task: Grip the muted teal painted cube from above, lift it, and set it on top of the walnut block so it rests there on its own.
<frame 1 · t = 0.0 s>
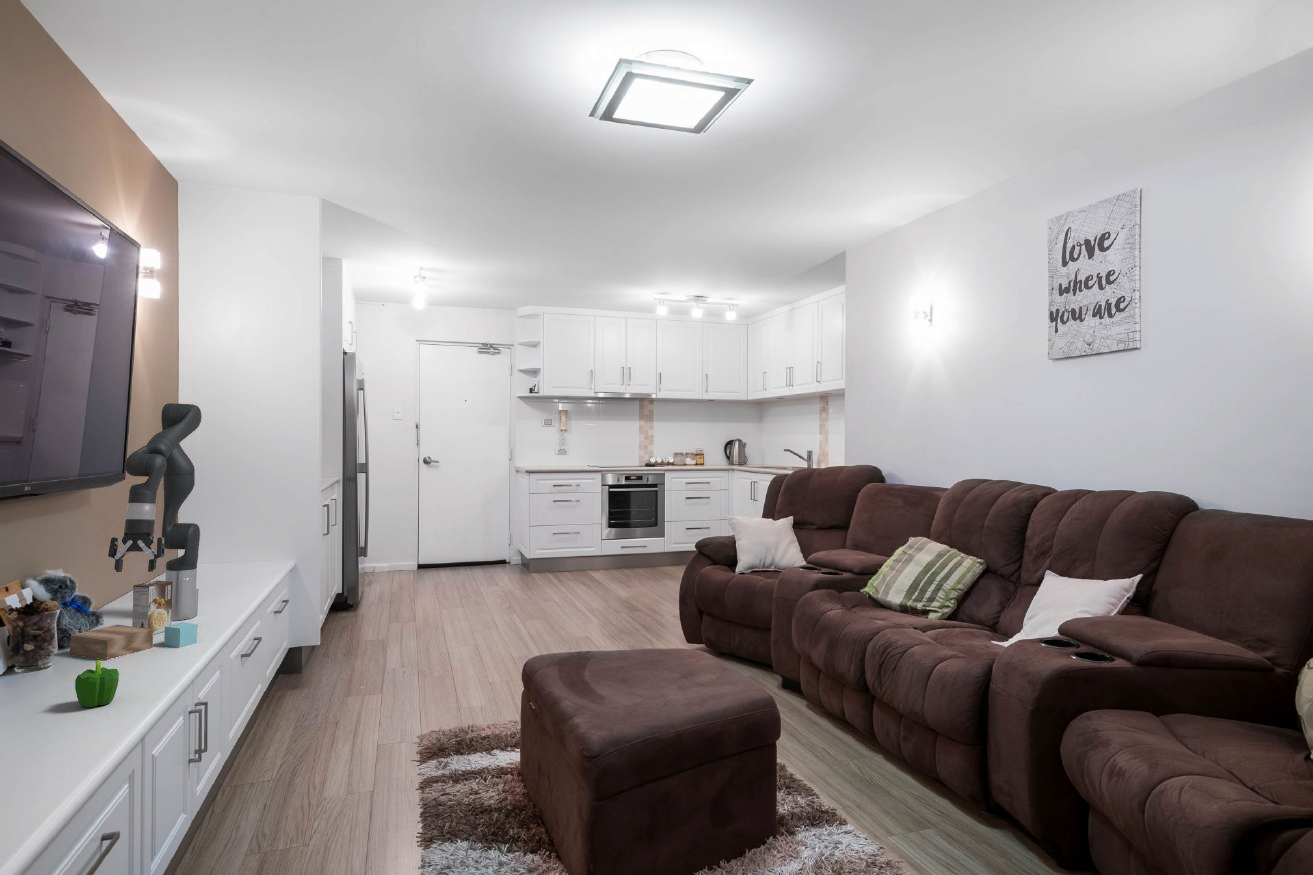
hand: (134, 571, 226), 22 cm above the tv stand, tool pointing down, fingers open, 8 cm apart
bell pepper: (96, 705, 177), on the tv stand
teal cube: (180, 644, 228), on the tv stand
coffee box: (151, 633, 241), on the tv stand
walnut block: (112, 652, 219), on the tv stand
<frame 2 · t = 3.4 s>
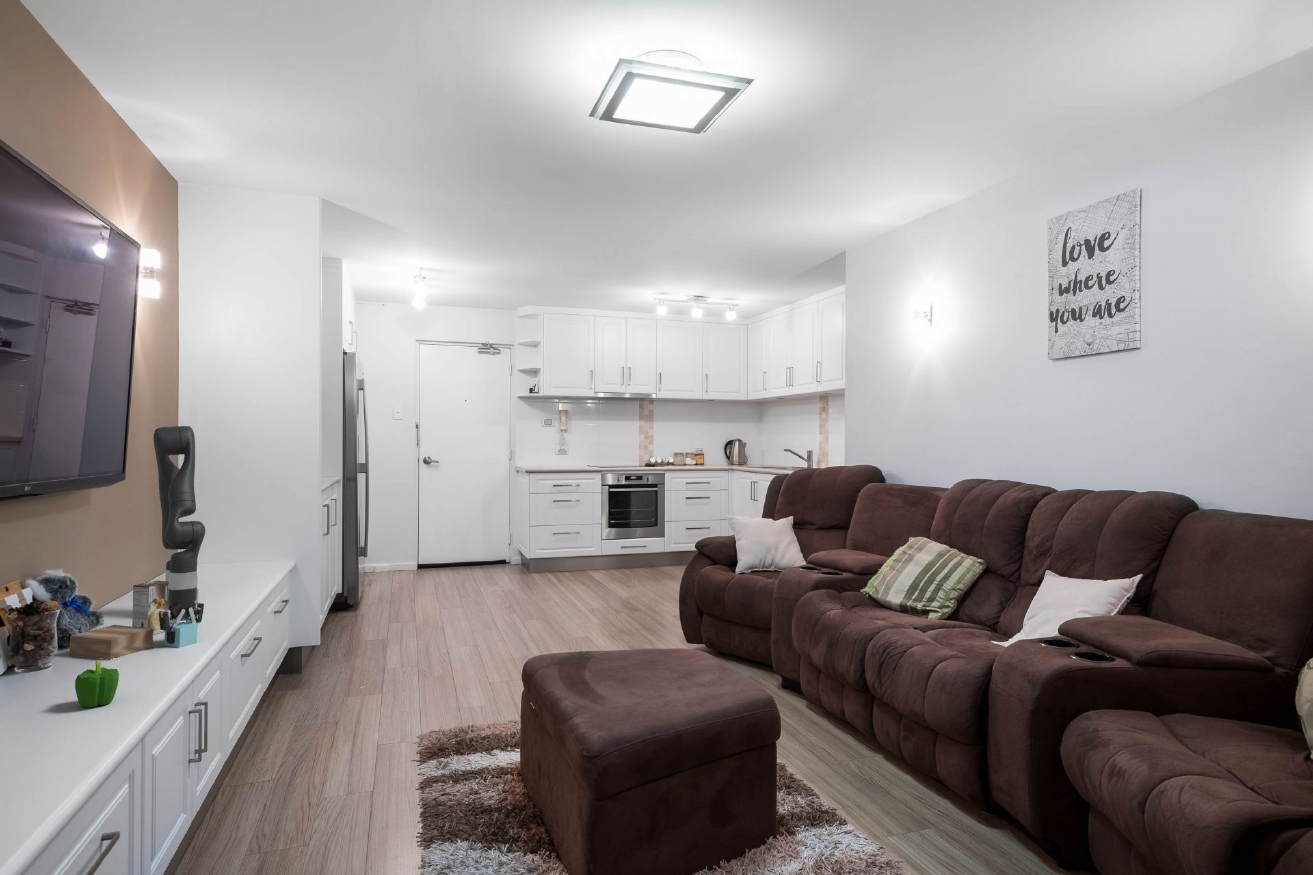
hand: (180, 640, 229), 1 cm above the tv stand, tool pointing down, fingers closed on teal cube, 6 cm apart
teal cube: (180, 644, 229), on the tv stand, touching gripper
everything else where it was.
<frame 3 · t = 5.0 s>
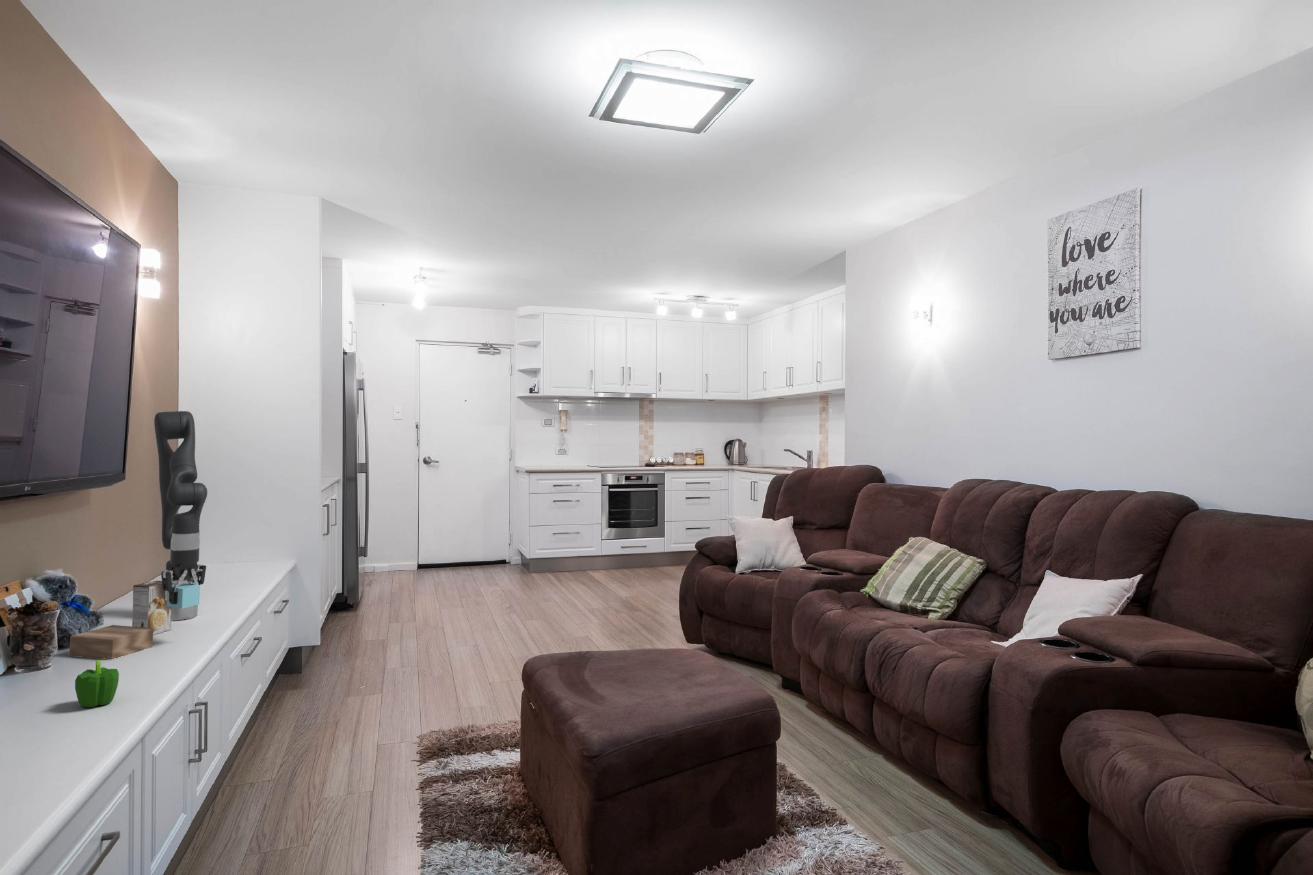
hand: (183, 601, 229), 13 cm above the tv stand, tool pointing down, fingers closed on teal cube, 6 cm apart
teal cube: (183, 605, 229), point 12 cm above the tv stand, touching gripper
everything else where it was.
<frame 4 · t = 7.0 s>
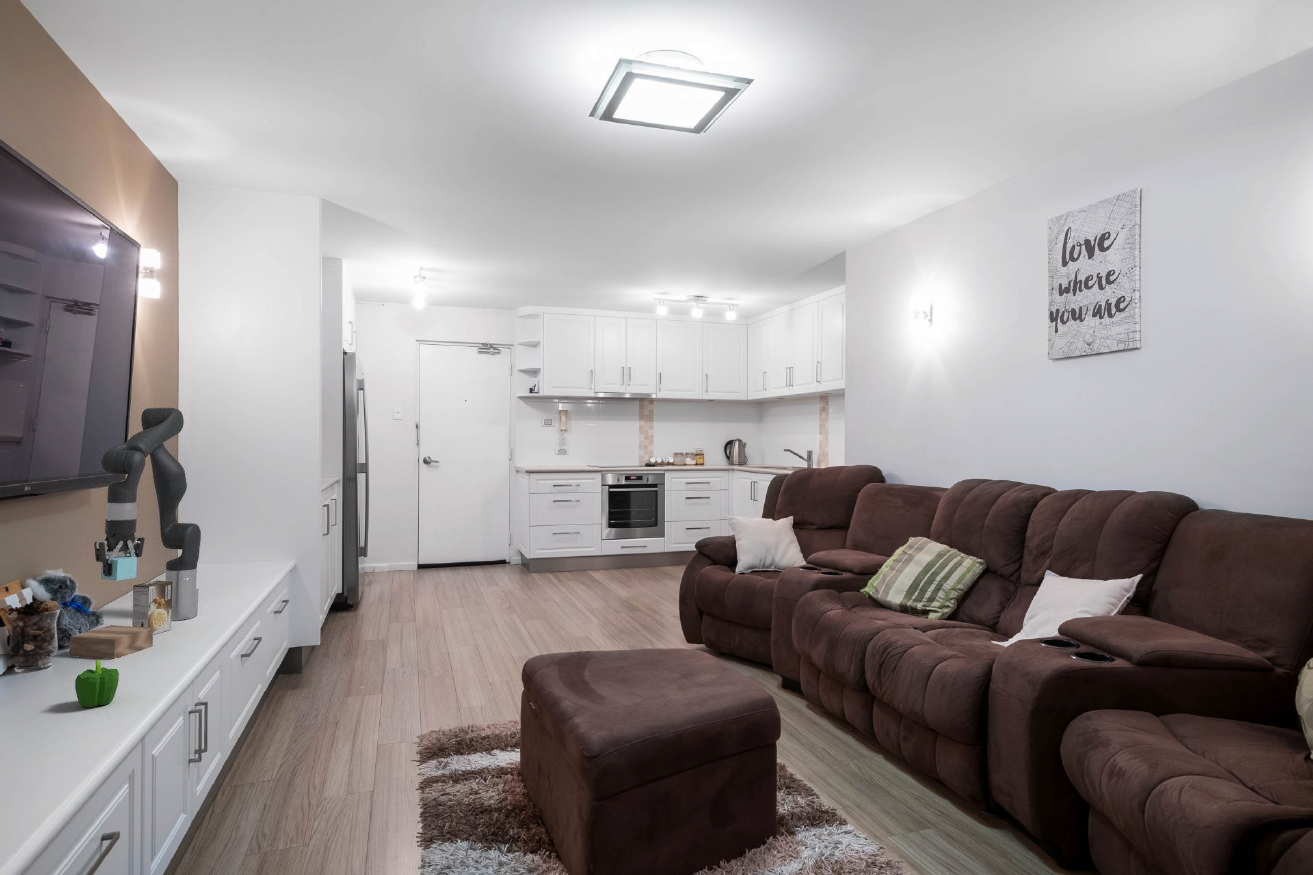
hand: (118, 574, 220), 23 cm above the tv stand, tool pointing down, fingers closed on teal cube, 6 cm apart
teal cube: (118, 578, 220), point 22 cm above the tv stand, touching gripper
everything else where it was.
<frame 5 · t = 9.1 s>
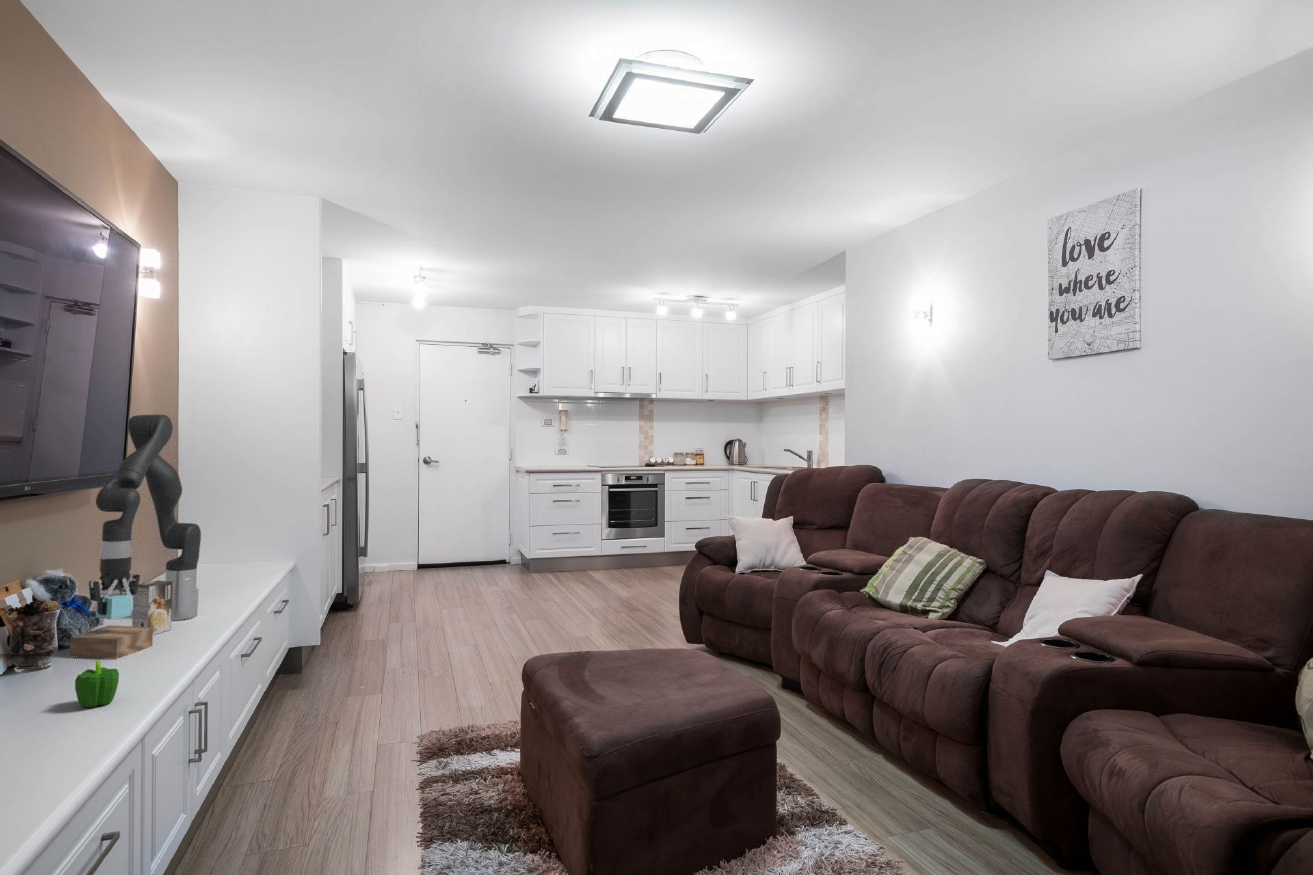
hand: (113, 612, 219), 11 cm above the tv stand, tool pointing down, fingers closed on teal cube, 6 cm apart
teal cube: (113, 616, 219), point 10 cm above the tv stand, touching gripper
when the fingers open (9 cm above the tv stand, at t = 10.7 s): teal cube drops 2 cm, point 6 cm above the tv stand.
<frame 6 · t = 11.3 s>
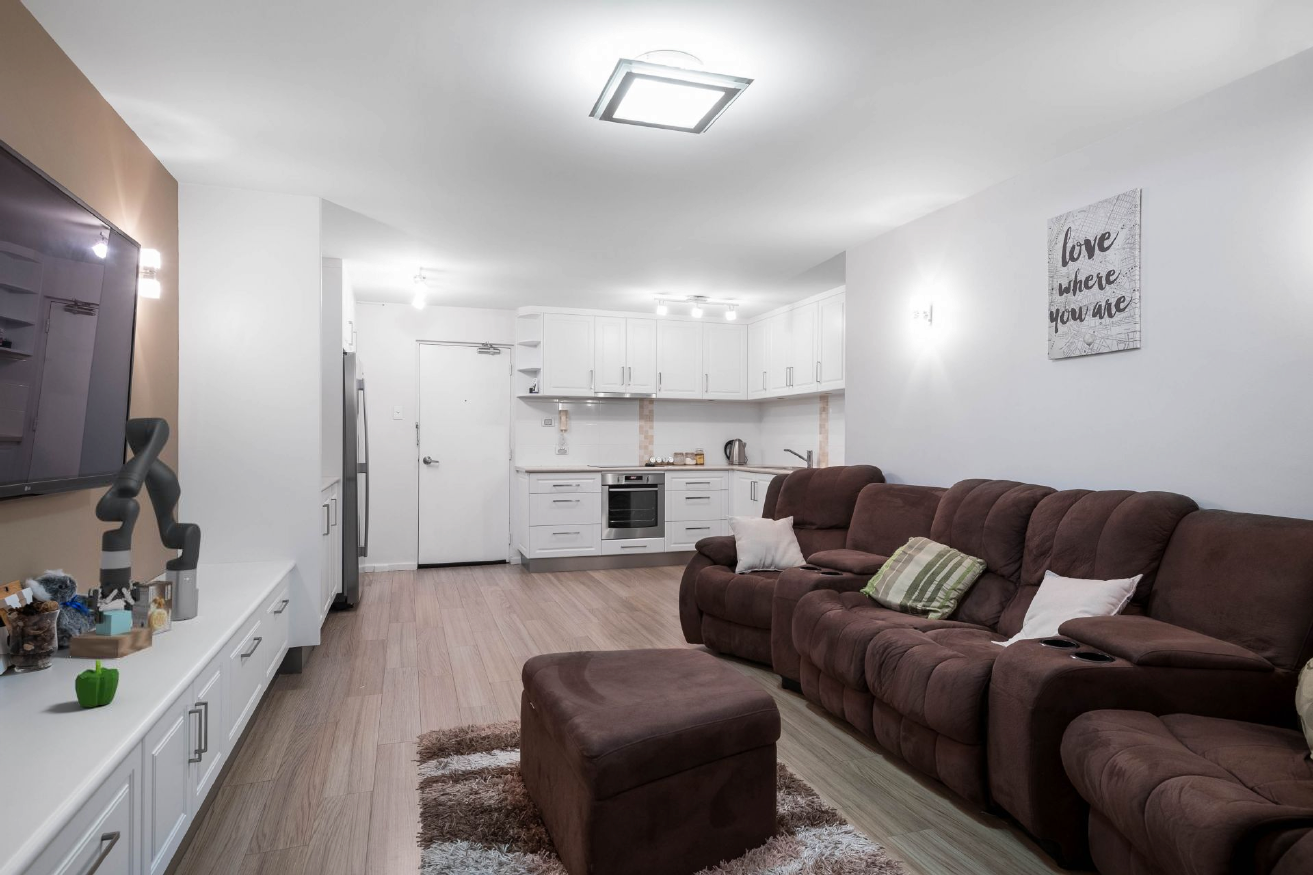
hand: (113, 620, 219), 9 cm above the tv stand, tool pointing down, fingers open, 8 cm apart
teal cube: (113, 632, 219), point 6 cm above the tv stand
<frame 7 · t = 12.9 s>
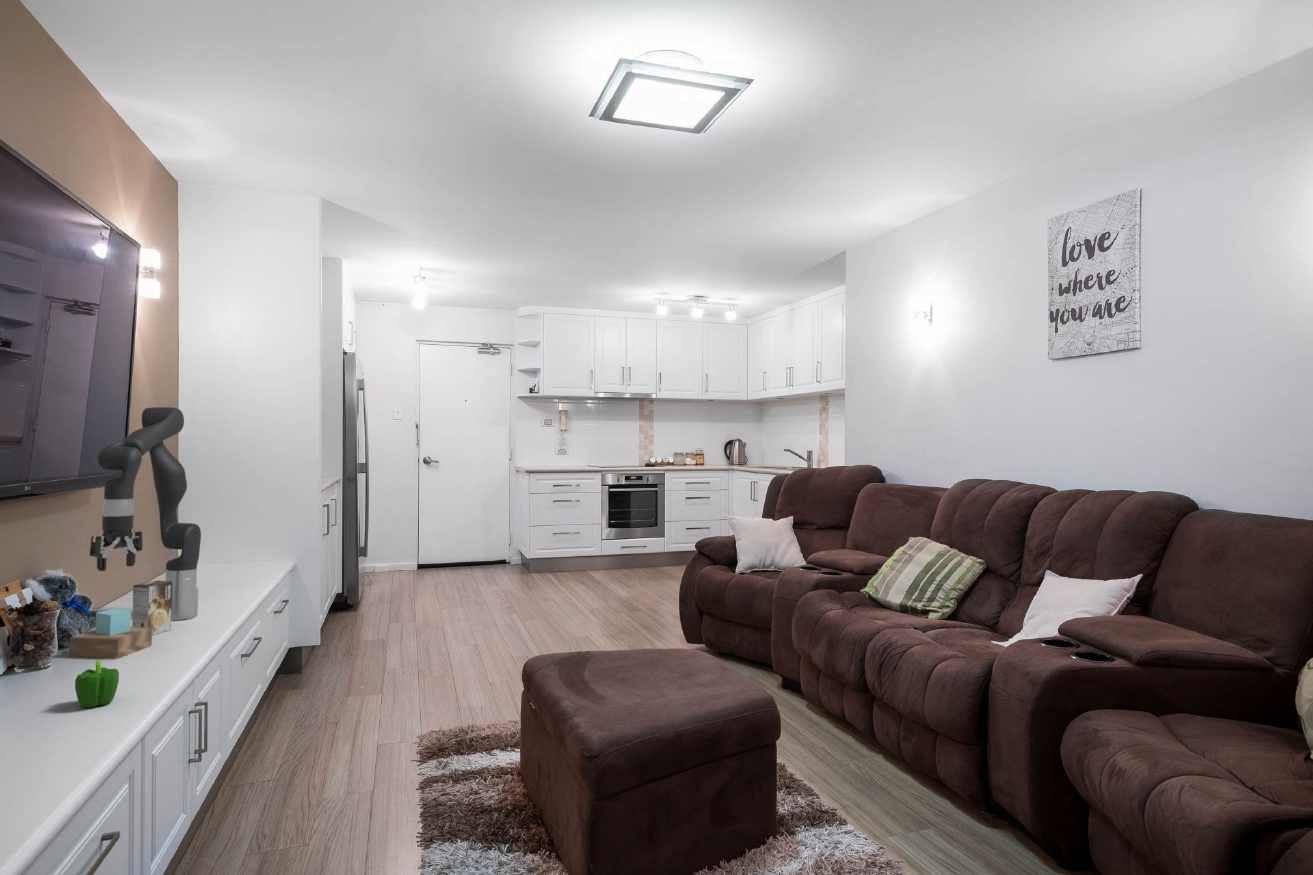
hand: (116, 568, 220), 24 cm above the tv stand, tool pointing down, fingers open, 8 cm apart
nothing on the tv stand moved.
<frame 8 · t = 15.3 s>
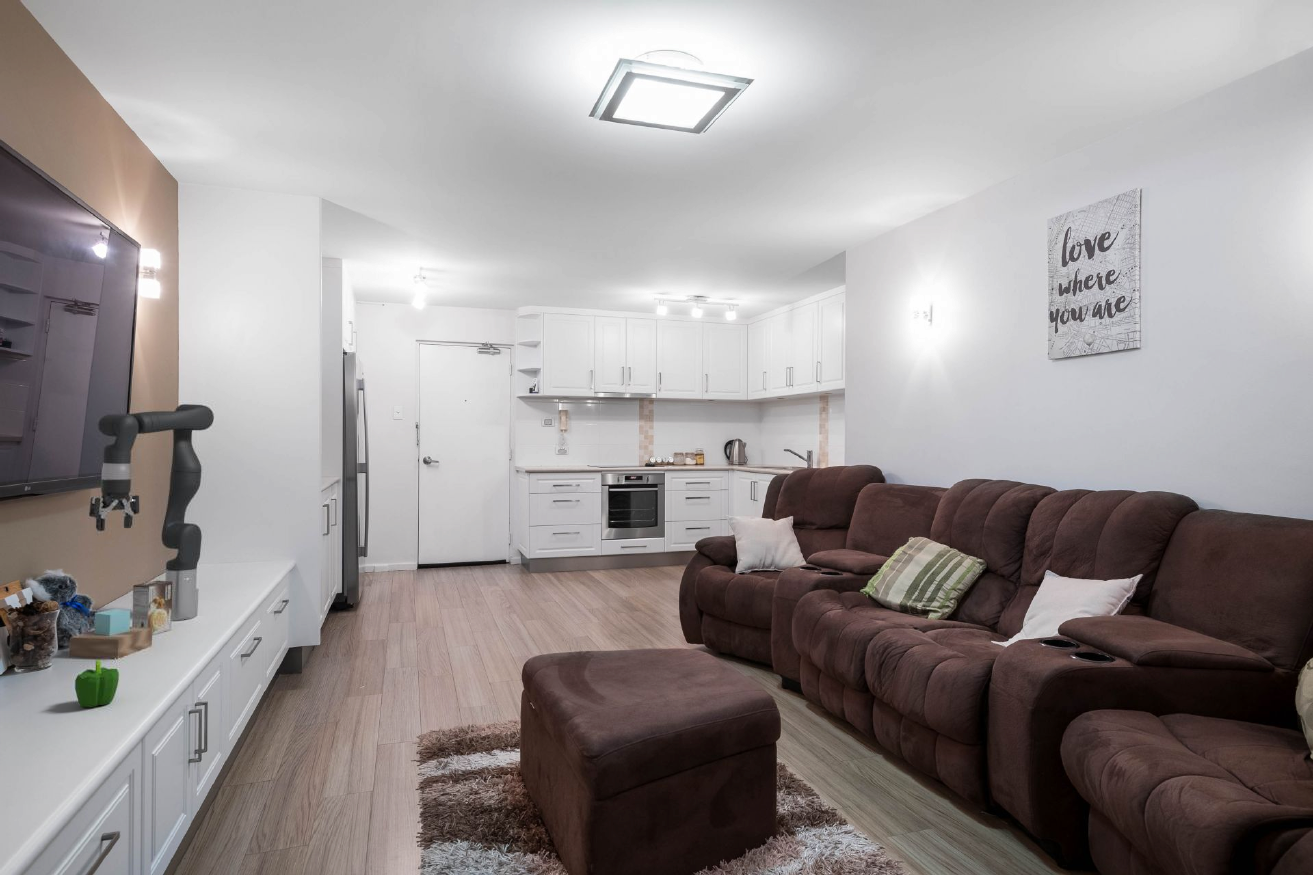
hand: (114, 529, 233), 34 cm above the tv stand, tool pointing down, fingers open, 8 cm apart
teal cube: (111, 632, 219), point 6 cm above the tv stand, touching walnut block
walnut block: (111, 652, 219), on the tv stand, touching teal cube
everything else where it was.
at the end: teal cube inside the target area on the walnut block (0.3 cm from its centre), point 6.0 cm above the walnut block's base; teal cube tilted 0°; the gripper is holding nothing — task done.
